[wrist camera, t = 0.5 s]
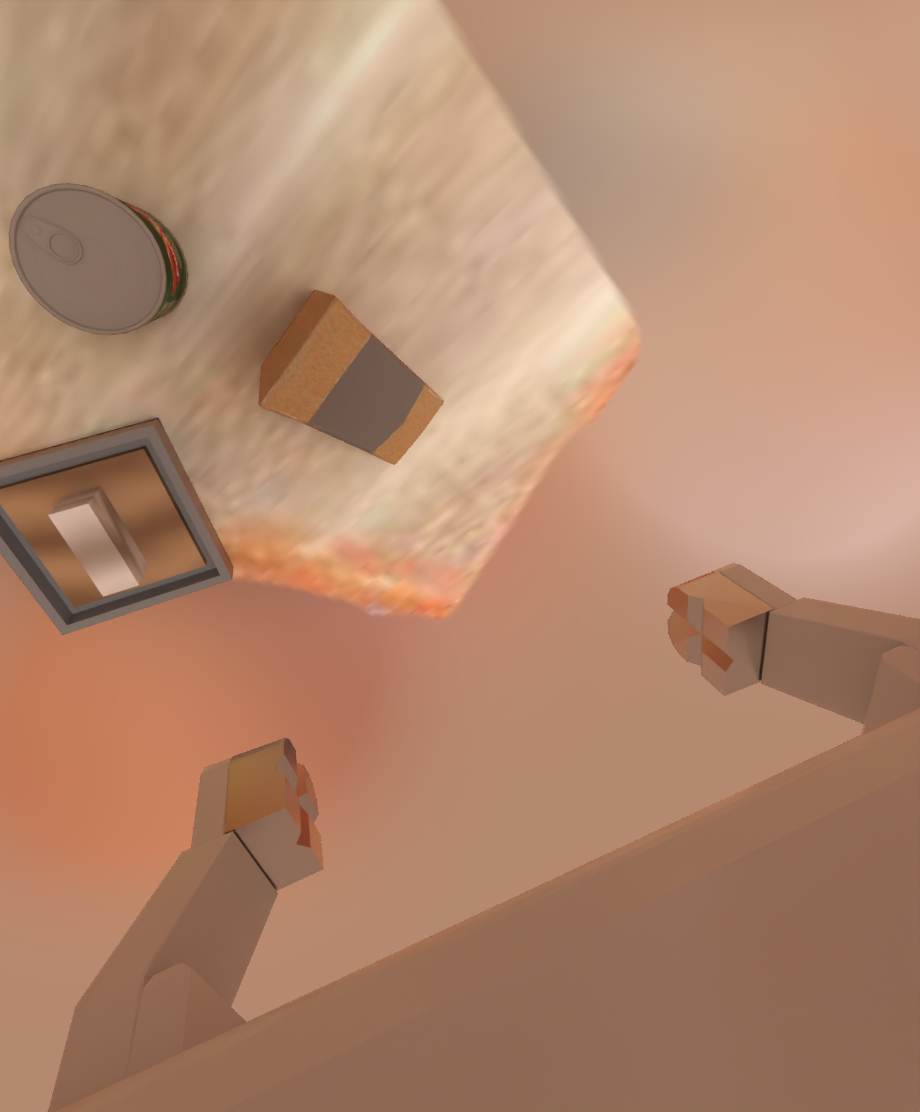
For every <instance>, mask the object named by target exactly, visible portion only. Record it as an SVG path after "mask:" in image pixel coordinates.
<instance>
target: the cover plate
mask: <svg viewBox="0 0 920 1112" xmlns="http://www.w3.org/2000/svg"><path fill="white" fill-rule="evenodd" d="M0 505H1V506H2V507H3V509H4V510H5V512H6V513H7V514H8V516H9V517H10V519H11V520H12V521H13V523H14V524H15V525H16V527H17V528H18V530H19V531H20V532H21V534H22V535H23V537H24V538H25V539H26V541H27V542H28V543H29V545H30V546H31V548H32V549H33V550H34V552H35V553H36V555H37V556H38V557H39V559H40V560H41V562H42V563H43V564H44V566H45V567H46V568H47V570H48V571H49V573H50V574H51V575H52V577H53V578H54V580H55V581H56V582H57V584H58V585H59V586H60V588H61V589H62V591H63V592H64V593H65V595H66V596H67V598H68V599H69V600H70V602H71V603H72V605H73V606H74V607H75V608H76V607H79V606H82V605H86V604H89V603H92V602H95V601H98V600H101V599H104V598H107V597H110V596H114V595H117V594H120V593H123V592H126V591H129V590H132V589H135V588H138V587H142V586H145V585H148V584H151V583H154V582H157V581H160V580H163V579H166V578H170V577H173V576H176V575H179V574H182V573H185V572H188V571H191V570H194V569H198V568H201V567H204V566H206V564H207V560H206V558H205V556H204V554H203V552H202V550H201V549H200V547H199V545H198V543H197V541H196V539H195V537H194V535H193V533H192V532H191V530H190V528H189V526H188V524H187V522H186V520H185V518H184V516H183V515H182V513H181V511H180V509H179V507H178V505H177V503H176V501H175V499H174V498H173V496H172V494H171V492H170V490H169V488H168V486H167V484H166V482H165V481H164V479H163V477H162V475H161V473H160V471H159V469H158V467H157V465H156V464H155V462H154V460H153V458H152V456H151V454H150V452H149V450H148V448H147V447H146V446H142V447H139V448H135V449H132V450H128V451H125V452H121V453H117V454H114V455H110V456H107V457H103V458H100V459H96V460H92V461H89V462H85V463H82V464H78V465H75V466H71V467H68V468H64V469H60V470H57V471H53V472H50V473H46V474H43V475H39V476H35V477H32V478H28V479H25V480H21V481H18V482H14V483H11V484H7V485H3V486H0Z"/></svg>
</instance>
